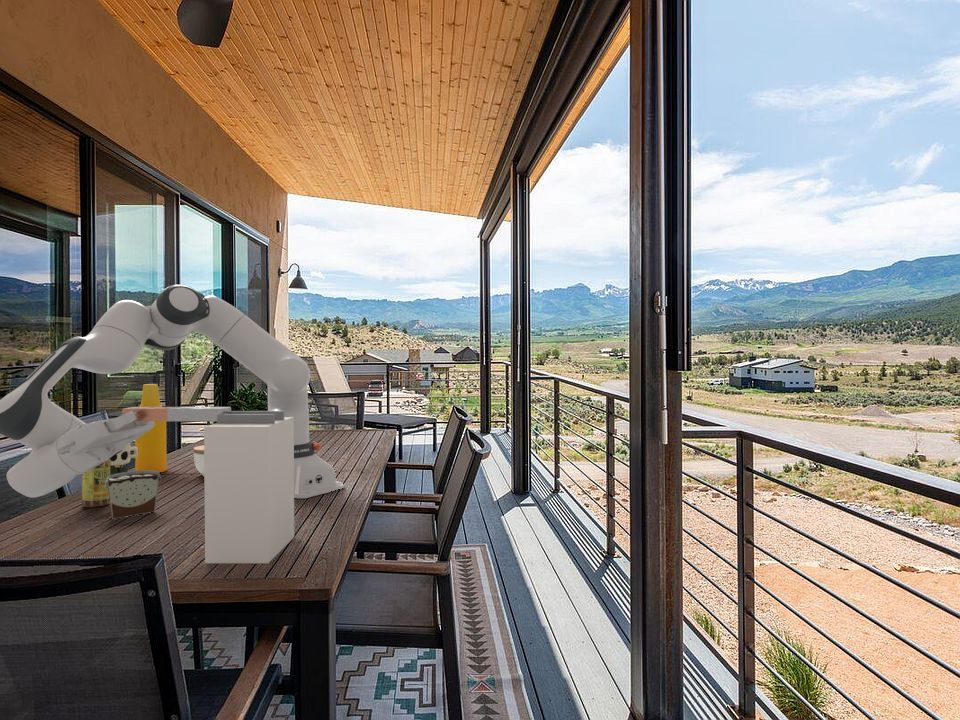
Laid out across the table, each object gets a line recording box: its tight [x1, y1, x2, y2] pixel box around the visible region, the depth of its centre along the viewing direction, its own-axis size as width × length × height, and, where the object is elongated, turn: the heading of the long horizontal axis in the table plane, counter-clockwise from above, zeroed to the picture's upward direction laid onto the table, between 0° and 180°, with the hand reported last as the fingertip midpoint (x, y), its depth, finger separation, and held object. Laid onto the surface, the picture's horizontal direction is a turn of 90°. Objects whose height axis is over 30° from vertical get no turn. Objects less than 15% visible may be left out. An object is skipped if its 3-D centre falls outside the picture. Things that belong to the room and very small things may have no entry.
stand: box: [203, 410, 295, 564], centre depth 122 cm, size 12×16×28 cm
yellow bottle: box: [134, 383, 168, 474], centre depth 200 cm, size 9×9×29 cm
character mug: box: [110, 443, 138, 475], centre depth 179 cm, size 11×7×13 cm, turn 130°
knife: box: [121, 406, 232, 422], centre depth 122 cm, size 20×4×2 cm, turn 90°
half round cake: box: [104, 470, 162, 520], centre depth 149 cm, size 12×6×10 cm, turn 134°
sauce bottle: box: [81, 458, 110, 509], centre depth 157 cm, size 7×6×20 cm
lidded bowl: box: [192, 444, 204, 477], centre depth 195 cm, size 13×13×11 cm
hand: (146, 411), depth 122 cm, fingers open, 7 cm apart
